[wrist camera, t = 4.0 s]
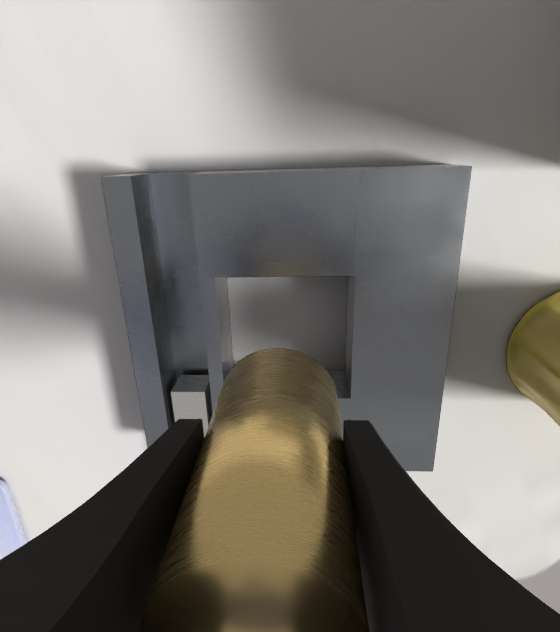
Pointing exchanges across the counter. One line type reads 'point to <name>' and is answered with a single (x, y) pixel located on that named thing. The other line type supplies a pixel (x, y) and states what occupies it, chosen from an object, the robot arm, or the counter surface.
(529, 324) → the vase
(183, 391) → the lock pin
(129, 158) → the counter surface
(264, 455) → the gold cylinder
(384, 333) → the socket
